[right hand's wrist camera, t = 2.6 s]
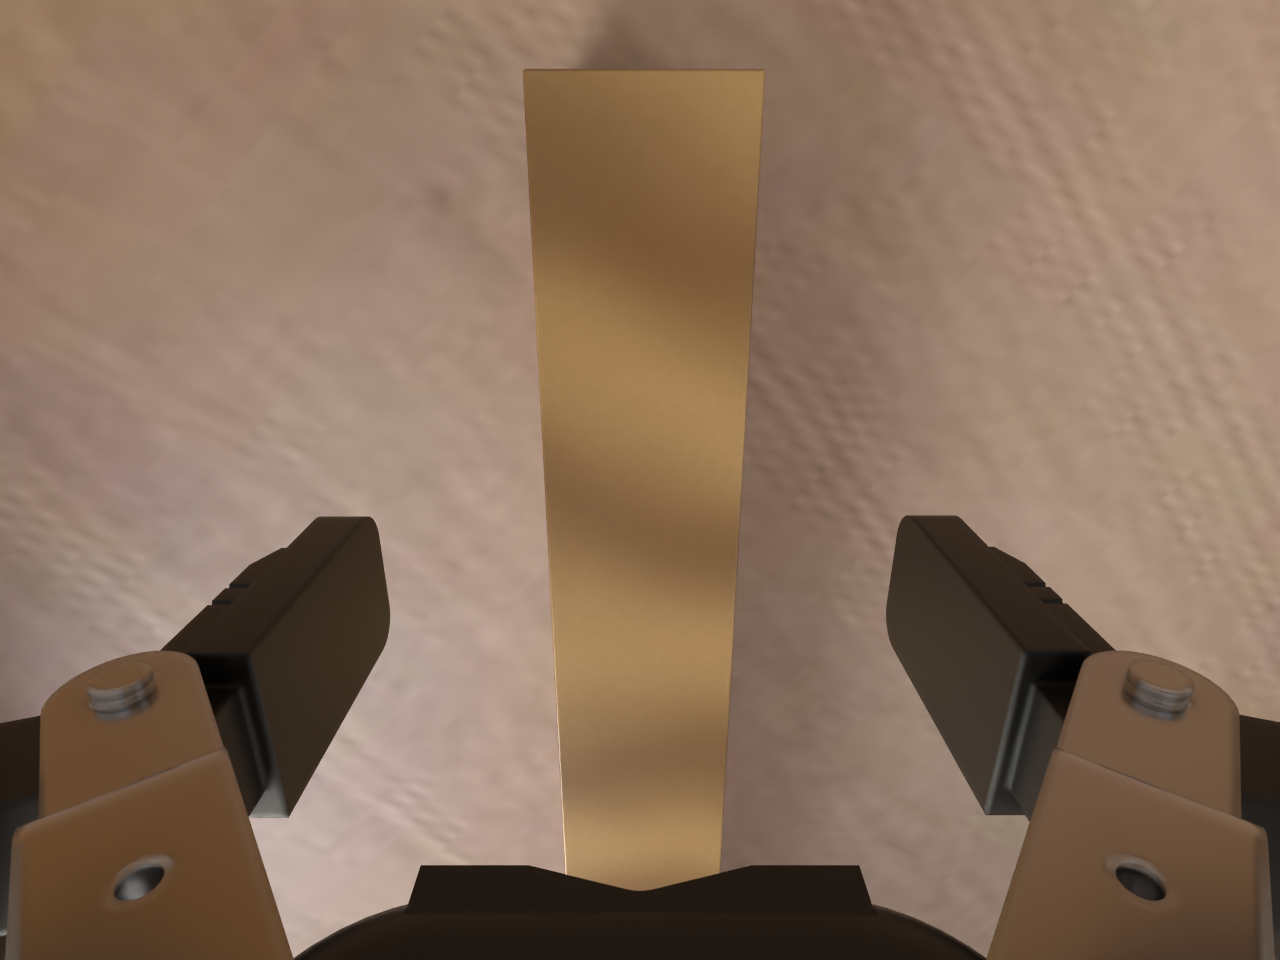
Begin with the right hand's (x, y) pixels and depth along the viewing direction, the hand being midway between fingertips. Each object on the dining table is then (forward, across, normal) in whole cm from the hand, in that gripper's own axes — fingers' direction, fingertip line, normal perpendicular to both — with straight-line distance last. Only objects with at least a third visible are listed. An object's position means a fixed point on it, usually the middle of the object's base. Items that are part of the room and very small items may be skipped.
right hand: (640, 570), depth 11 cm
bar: (+12, 0, -23) cm, 26 cm away
